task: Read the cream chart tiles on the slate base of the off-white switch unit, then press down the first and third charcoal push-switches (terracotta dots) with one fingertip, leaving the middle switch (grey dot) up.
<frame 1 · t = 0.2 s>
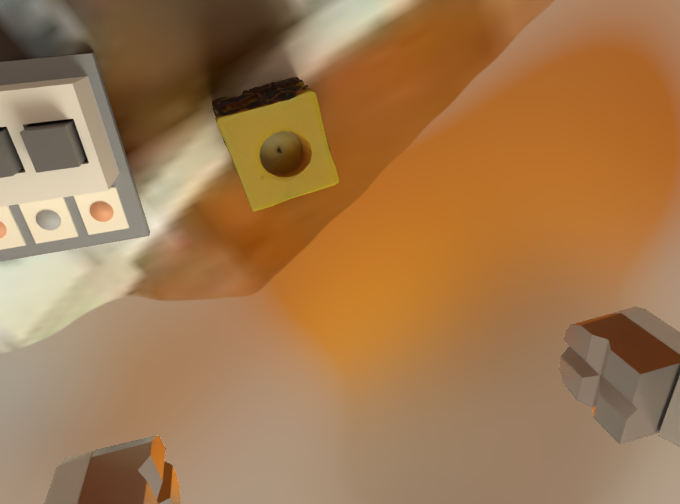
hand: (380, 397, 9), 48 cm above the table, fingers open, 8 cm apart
switch c: (60, 142, 42), point 6 cm above the table, slide at 0.0 cm
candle: (268, 130, 53), on the table
switch unit: (30, 164, 48), on the table
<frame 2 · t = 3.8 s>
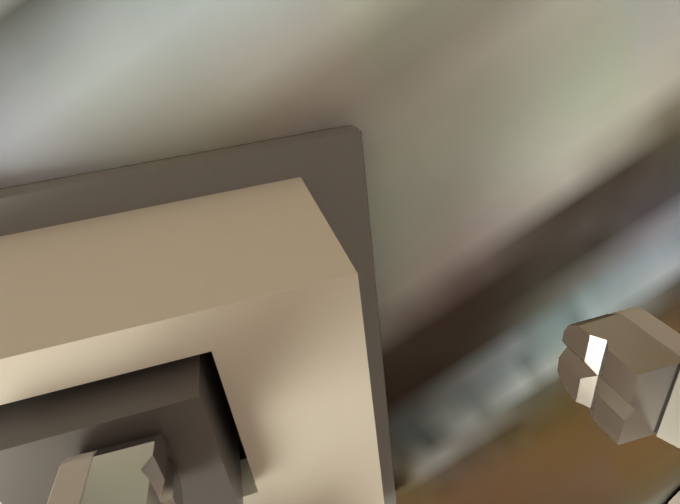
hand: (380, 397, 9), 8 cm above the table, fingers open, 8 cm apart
switch a: (145, 381, 11), point 5 cm above the table, slide at 1.3 cm, touching gripper
switch unit: (125, 422, 17), on the table
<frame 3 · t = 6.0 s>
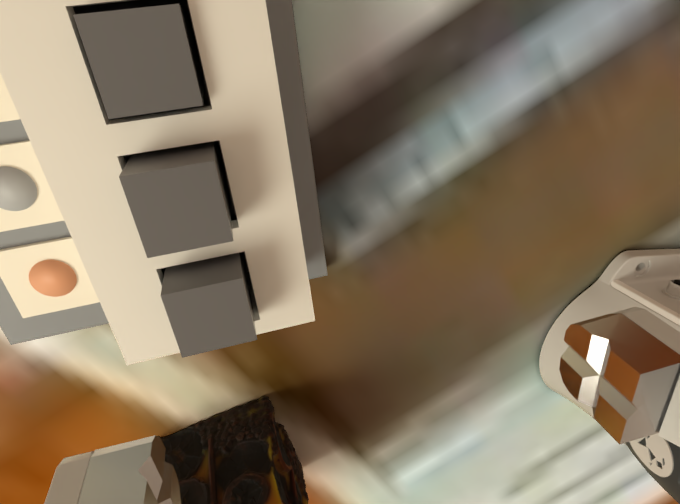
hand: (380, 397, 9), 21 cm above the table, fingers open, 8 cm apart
switch b: (183, 187, 21), point 6 cm above the table, slide at 0.0 cm
switch a: (151, 57, 19), point 5 cm above the table, slide at 1.4 cm
switch c: (211, 285, 24), point 6 cm above the table, slide at 0.0 cm
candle: (230, 452, 38), on the table
switch unit: (134, 162, 26), on the table
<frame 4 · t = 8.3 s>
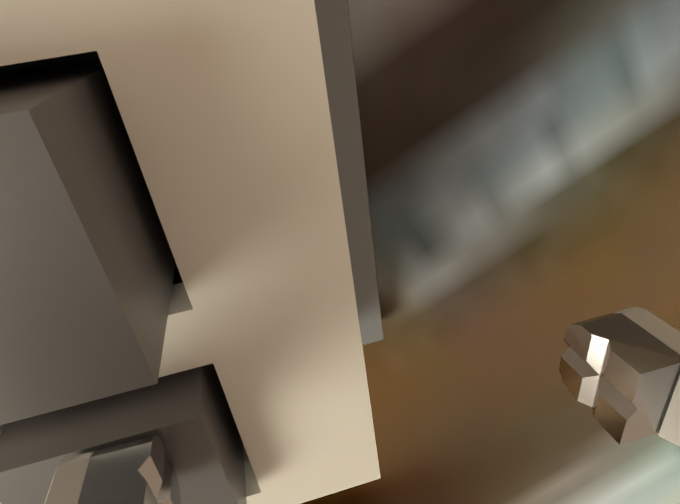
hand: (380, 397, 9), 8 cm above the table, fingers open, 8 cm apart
switch b: (28, 204, 7), point 6 cm above the table, slide at 0.0 cm
switch c: (151, 390, 11), point 5 cm above the table, slide at 1.1 cm
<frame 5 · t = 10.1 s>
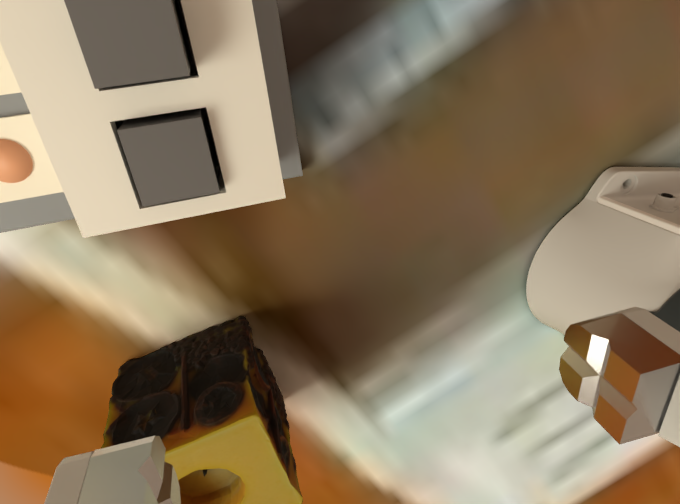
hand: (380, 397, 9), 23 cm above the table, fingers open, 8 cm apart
switch b: (137, 30, 20), point 6 cm above the table, slide at 0.0 cm
switch c: (174, 147, 23), point 5 cm above the table, slide at 1.4 cm
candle: (207, 380, 37), on the table
switch unit: (92, 35, 24), on the table
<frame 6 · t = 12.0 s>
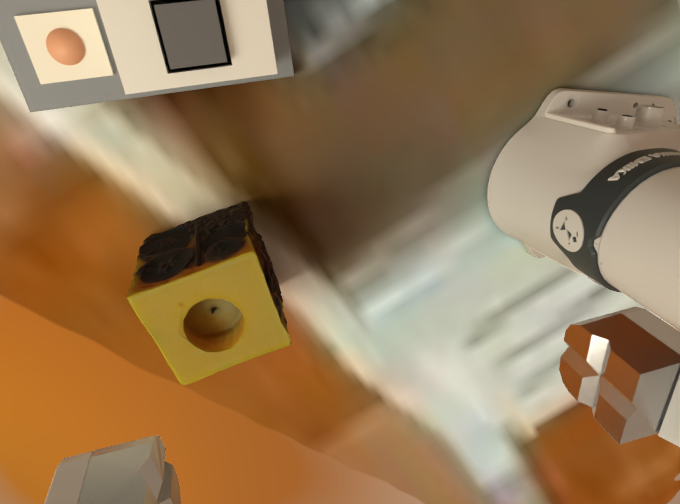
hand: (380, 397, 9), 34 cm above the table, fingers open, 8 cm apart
switch c: (193, 33, 31), point 5 cm above the table, slide at 1.4 cm
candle: (215, 261, 44), on the table
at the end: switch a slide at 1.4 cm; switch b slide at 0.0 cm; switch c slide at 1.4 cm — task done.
